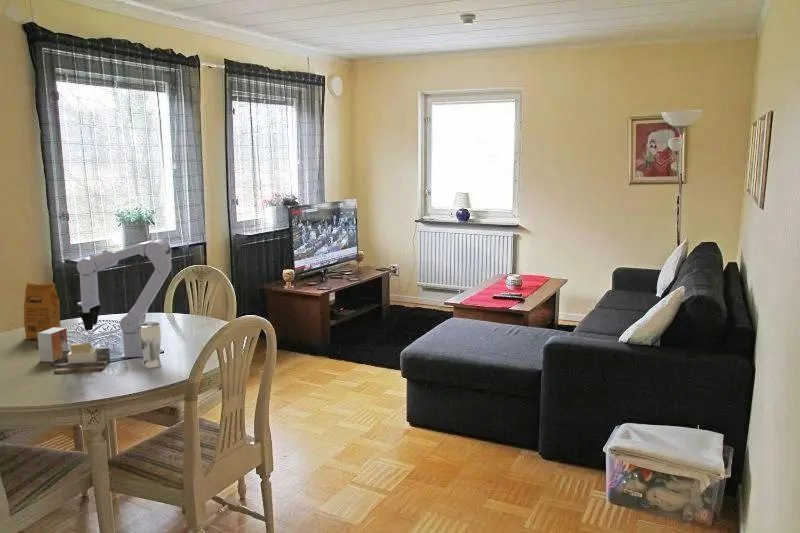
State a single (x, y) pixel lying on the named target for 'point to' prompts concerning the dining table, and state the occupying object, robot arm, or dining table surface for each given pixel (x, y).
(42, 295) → the coffee package
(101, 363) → the grey brown open tray
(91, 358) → the large cream box
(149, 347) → the beer glass
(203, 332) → the dining table surface
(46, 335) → the small box
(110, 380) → the dining table surface
